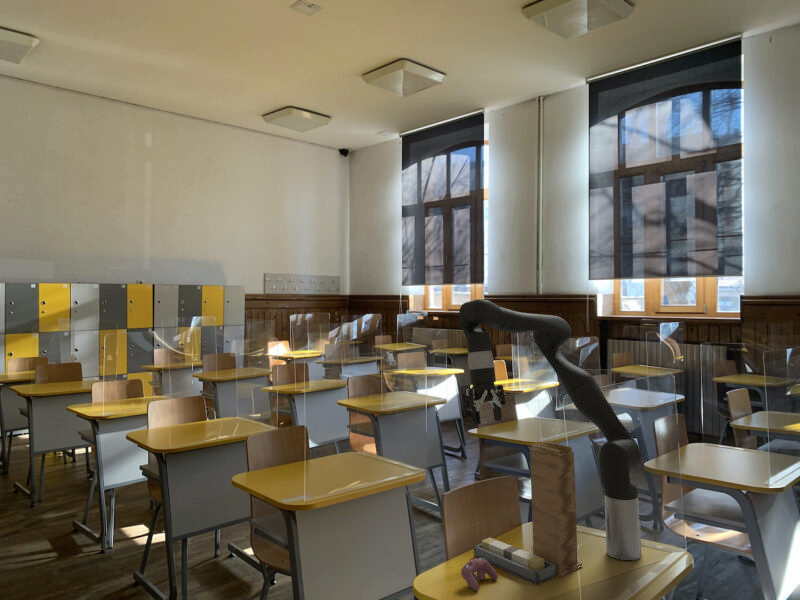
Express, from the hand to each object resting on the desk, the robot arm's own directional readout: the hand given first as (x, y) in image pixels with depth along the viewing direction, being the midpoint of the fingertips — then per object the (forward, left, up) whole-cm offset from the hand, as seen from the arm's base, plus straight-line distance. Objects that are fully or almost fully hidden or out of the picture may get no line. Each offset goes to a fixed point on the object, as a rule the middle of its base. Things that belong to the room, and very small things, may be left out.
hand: (487, 422), depth 172 cm
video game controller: (+14, +8, -40) cm, 43 cm away
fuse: (-1, +7, -39) cm, 39 cm away
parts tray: (-1, +8, -39) cm, 40 cm away
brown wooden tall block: (-10, +15, -39) cm, 43 cm away
